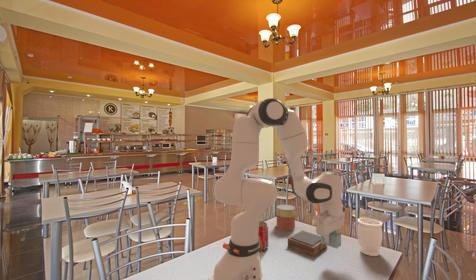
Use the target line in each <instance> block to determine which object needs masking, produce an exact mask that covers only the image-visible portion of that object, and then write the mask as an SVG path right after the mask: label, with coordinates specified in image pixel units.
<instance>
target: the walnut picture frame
mask: <svg viewBox="0 0 476 280" xmlns="http://www.w3.org/2000/svg"><path fill="white" fill-rule="evenodd" d="M287 247H289V248H292V249H294V250H296V251H299V252H301V253H304V254H306V255H308V256H309V255H310V256H312V257H315V256H317V254H319V253H320V252H321V251H323V250H324V249H325V248H326V247H327V245H325V244H322V243H321V236H320V235H318V234H314V233H311V232H308V231H305V230H303V229H302V230H300V231H298V232H296V233H294V234H293V235H291V236H290V237H288V238H287Z"/></svg>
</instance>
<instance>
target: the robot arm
mask: <svg viewBox="0 0 476 280" xmlns="http://www.w3.org/2000/svg"><path fill="white" fill-rule="evenodd" d="M264 128H274V130H275V131H276V133H277V136H278V139H279V141H280V144H281V146H282V149H283V152H284V156H285V161H286V163H287V167H288V171H289V174H290V177H291V191H292V193H293V195H294V196H296V197H297V198H300V199H302V200H304V201H307V202H309V203H311V204H320V205H319V209H320V213H319V215H318V216H317V219H316V225H315V226H316V228H315V232H316V235H318V236H324V238H325V242H326V243H330V238H329V235H330V233H331V232H336V233H338V230H339V229H340V228H342V227H344V224H345V215H346V213H345V212H346V208H347V207H346V206H345V205H343V202H342V195H343V186H342V185H343V183H342V179H341V176H340V175H339V174H338V173H333V172H330V171H323V172H321V174H320V175H318V176H317V177H315V178H314V177H313V178H312V179H311V178H309V177H308V176H307V175H306V174H305V170H304V167H303V163H302V160H301V158H302V155H303V154H304V153H305V151H307V149H308V147H309V141H308V136H307V133H306V131H305V128H304V125H303V123H302V121H301V120H300V117H299V116H298V114H297V113H296V111H295V110H292V109H288V108H287V107H286V106H285V104H284V103H283V102H282V101H281V100H280V99H277V98H275V97H274V98H273V97H270V98H266V99H263V100H261V101H259V102H257V103H256V104H254V105H253V106H252V107H250V109H249V111H248V112H247V114H245V115H242V116H239V117H237V118H236V119H235V121H234V124H233V128H232V136H231V155H230V156H231V157H230V163H229V165H228V168H227V170H226V172H225V173H224V174H223V175H222V176H221V177H220V178H218V179H217V180H216V182H215V183H214V187H213V195H214V198H215V200H216V202H220V203H223V204H226V205H231V206H232V205H233V206H243V207H245V211H242V212H239V213H238V214H235V216H233V217H232V219H231V221H230V238H229V241H228V243H226V242H224V243H223V244H222V248H223V249H225V250H226V251H225V253H224V254H223V255H222V256H221V258H220V259H219V261H218V262H217V263H216V264H215V267H214V268H213V274H212V275H211V276H210V277H209V278H208V279H207V280H264V279H263V272H262V265H261V257H260V252H259V249H260V244H259V239H258V233H259V222H260V221H261V219H262V216H263V215H264V213H265V212H266V210H268V209H269V208H271V207H272V206H273V205H274V204H275V203H276V201H277V199H278V187H277V185H276V184H275V183H274V182H273V181H272V180H270V179H269V180H268V179H265V178H254V177H245V173H246V171H249V170H251V169H253V168H255V167H256V166H257V165H258V164H259V162H260V135H261V134H260V133H261V131H262V129H264Z"/></svg>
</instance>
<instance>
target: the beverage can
mask: <svg viewBox="0 0 476 280" xmlns="http://www.w3.org/2000/svg"><path fill="white" fill-rule="evenodd" d="M258 239H259V244H260V249H259V251H265V250H267V249H268V248H269V227H268V223H267V222H265V221H261V220H260V222H259V233H258Z"/></svg>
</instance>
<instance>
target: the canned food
mask: <svg viewBox="0 0 476 280" xmlns="http://www.w3.org/2000/svg"><path fill="white" fill-rule="evenodd" d="M276 228H278V229H280V230H283V231H292V230H295V228H296V207H295V206H293V205H291V204H278V205H277V206H276Z"/></svg>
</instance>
